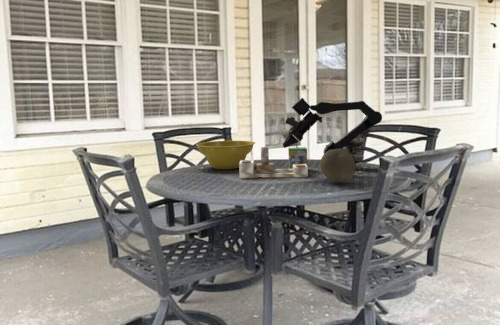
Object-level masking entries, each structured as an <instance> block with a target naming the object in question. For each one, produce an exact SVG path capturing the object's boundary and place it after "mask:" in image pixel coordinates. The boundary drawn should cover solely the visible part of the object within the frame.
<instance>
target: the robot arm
mask: <svg viewBox="0 0 500 325" xmlns="http://www.w3.org/2000/svg"><path fill="white" fill-rule="evenodd" d="M291 109H292V110H293V111H294V112H296V114H298V116H303V118H301V119H300V120H298V121H297V120H295V117H293V116H291V117H289V116H287V117H286V119H285V121H284V124H286V125H289V126H291V127H290V128H289V130H288V136H287V137H286V138H285V140H284V141H283V143H282V146H283V148H284V149H286V148H289V147H290V146H292V145H294V144H295V143H296V144H297V143H299V142H301V141H302V140H304V135H305V134H306V133H307V132H308V131H310V130H311V128H312V127H313V126H314V125H315V124H316V123H317V122H319V123H322V122H323V117H322V116H319V115H318V114H320V115H327V114H330V113H333V112H341V111H355V110H356V111H357V110H359V111H360V112H362V113H363V115H364V118H363V119H362V121H361V122H360V123H358V124H357V125H356V126H355V127H354V128H352V129H351V130H350V131H348V132H346V133H347V134H346V135H345V136H344V137H343V136H342V137H341V138H340V139H338V140H337V141H333V140H331V141H330V142H329V143H328V144H326V145H325V147H324V148H323V155H324V154H325V153H326V152H327V151H329V150H332V149H343V147H345V146H346V145H347V144H348V143H350V142H351V141H352V140H353V139H355V138H356V137H357V136H358V135H360V136H361V134H362V133H364V132H365V131H366V130H367V129H369V128H372V127H374V126H376V125H378V124H379V123H381V122H382V120H383V115H382V113H381V112H379V111H377V110H375V109H373V108H372V107H370V105H368V104H367V103H366V101H364V100H359V101H351V102H348V101H347V102H337V103H336V102H326V101H325V102H324V101H320V102H317V103H316V104H315V105H314V104H313V105H312V104H311V105H310V104H309V103H308V102H307V101H306V100H305V99H304V98H303V97H301V98H300V99H299V100H298V101H296V102H295V103H294V104H293V106H292V107H291ZM312 111H314V112H312ZM296 144H295V145H296Z"/></svg>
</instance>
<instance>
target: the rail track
mask: <svg viewBox="0 0 500 325" xmlns="http://www.w3.org/2000/svg"><path fill="white" fill-rule="evenodd" d="M238 168H239V171H238V172H239V179H255V178H256V179H257V178H258V177H262V178H292V177H293V178H309V166H308V167H307V165H306V164H293V169H289V168H274V170H257V169H255V160H254V159H248V160H247V159H245V160H241V161H240V163H239V167H238Z"/></svg>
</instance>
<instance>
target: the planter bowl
mask: <svg viewBox="0 0 500 325" xmlns="http://www.w3.org/2000/svg"><path fill="white" fill-rule="evenodd" d="M254 145H256V142H255V141H251V140H215V141H213V140H212V141H205V142H200V143H196V144H195V146H197V148H198V150H199V152H200V153H201V154H202V155H203V156H204V157H205V159H206V161H207V162H208V164H209V165H210V167H212V168H213V169H215V170H216V169H217V170H232V169H237V168H239V163H240V161H241V160H246V158H247V155H249V153H251V152H252V150H253V148H254Z"/></svg>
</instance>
